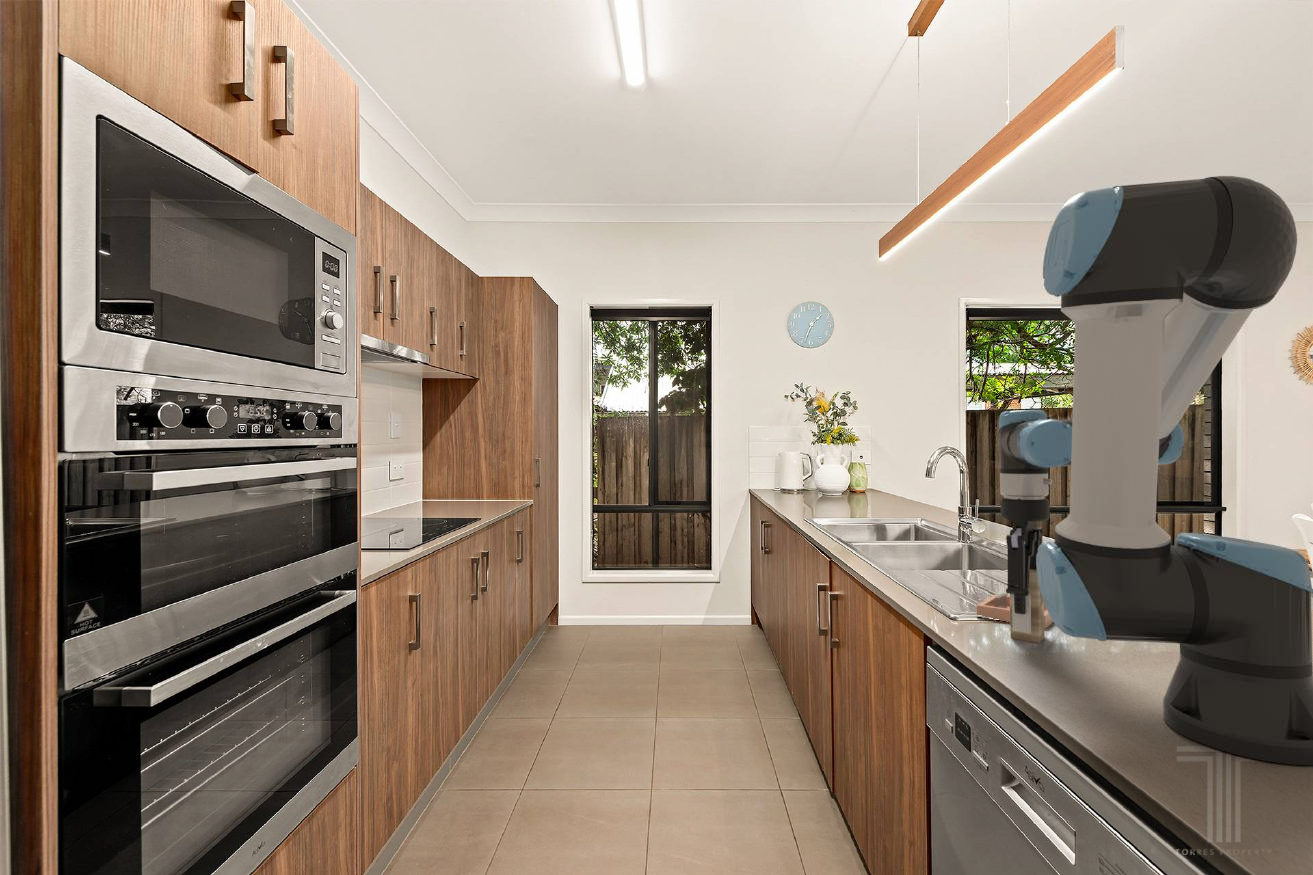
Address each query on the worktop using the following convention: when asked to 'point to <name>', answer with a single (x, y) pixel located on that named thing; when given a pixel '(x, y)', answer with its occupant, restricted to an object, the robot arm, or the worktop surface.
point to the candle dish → (1003, 609)
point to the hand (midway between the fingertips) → (1027, 627)
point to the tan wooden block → (1032, 612)
